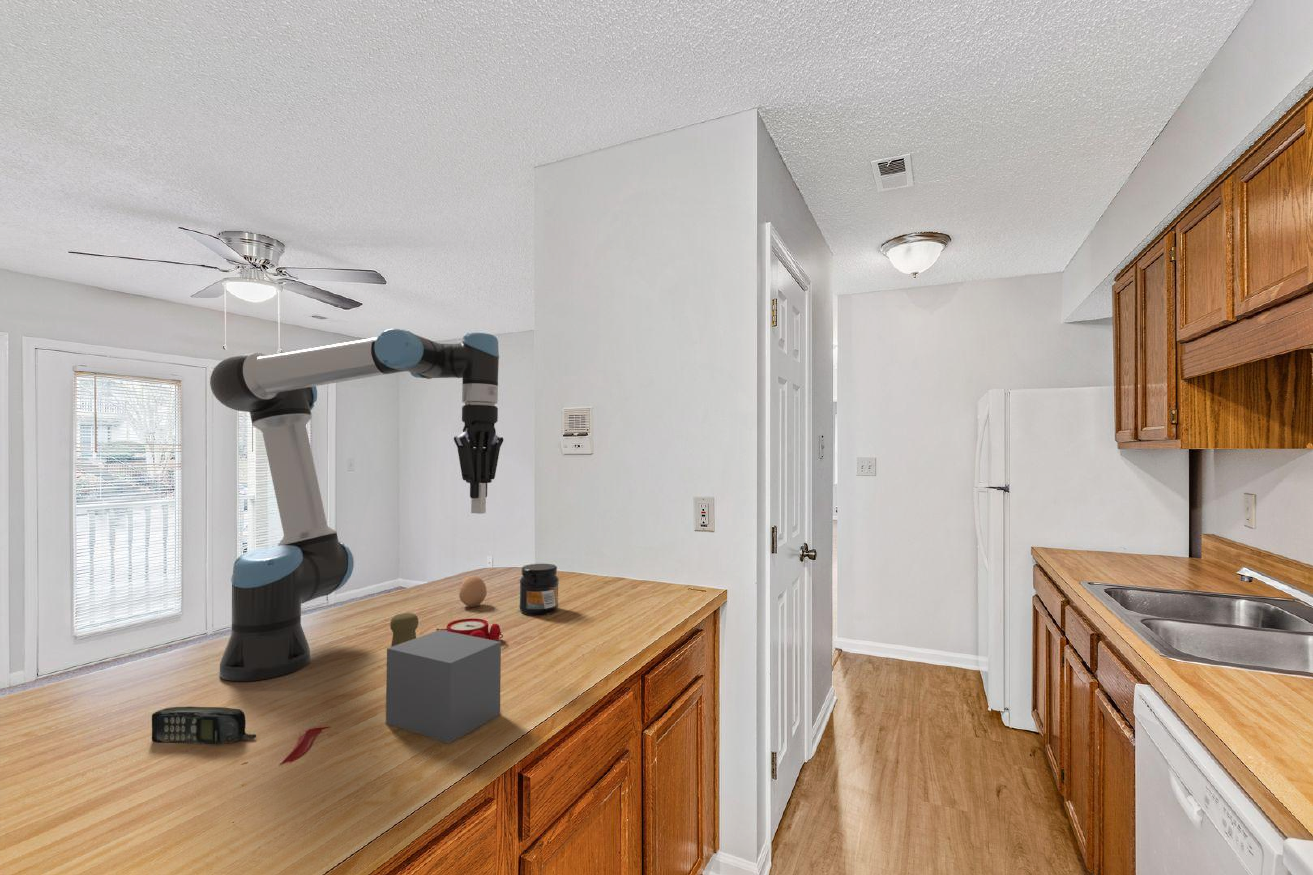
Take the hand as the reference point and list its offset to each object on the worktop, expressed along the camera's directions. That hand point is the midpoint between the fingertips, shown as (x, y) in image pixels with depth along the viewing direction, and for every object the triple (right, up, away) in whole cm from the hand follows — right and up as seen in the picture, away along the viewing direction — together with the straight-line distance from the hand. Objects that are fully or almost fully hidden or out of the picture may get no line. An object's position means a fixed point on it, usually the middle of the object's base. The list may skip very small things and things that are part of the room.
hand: (478, 512), depth 128 cm
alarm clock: (-3, -31, +6) cm, 32 cm away
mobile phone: (-30, -30, -39) cm, 57 cm away
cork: (-12, -30, -11) cm, 34 cm away
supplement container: (+7, -31, +33) cm, 46 cm away
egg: (-13, -31, +37) cm, 50 cm away
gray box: (+4, -30, -31) cm, 43 cm away
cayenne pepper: (-14, -30, -40) cm, 52 cm away
